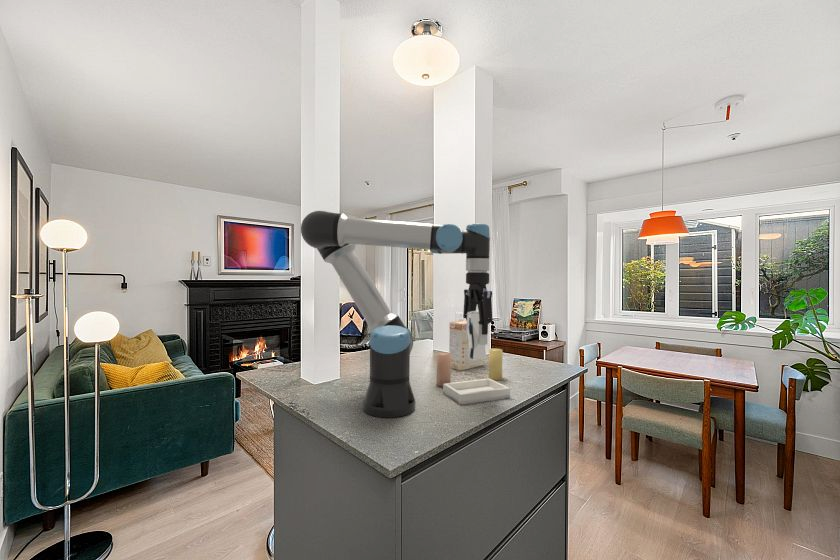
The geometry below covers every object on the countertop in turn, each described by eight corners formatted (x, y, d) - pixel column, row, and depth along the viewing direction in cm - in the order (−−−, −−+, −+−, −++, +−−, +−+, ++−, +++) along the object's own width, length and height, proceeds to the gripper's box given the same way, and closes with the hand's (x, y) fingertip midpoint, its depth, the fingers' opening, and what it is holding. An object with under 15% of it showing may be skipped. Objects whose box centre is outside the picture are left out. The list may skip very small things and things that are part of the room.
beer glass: (481, 361, 116) (482, 313, 116) (462, 357, 121) (462, 311, 120) (491, 357, 122) (492, 311, 122) (472, 354, 126) (473, 310, 126)
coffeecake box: (472, 362, 167) (472, 318, 166) (484, 365, 161) (485, 320, 161) (448, 367, 157) (448, 321, 157) (460, 370, 152) (461, 323, 151)
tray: (460, 404, 113) (460, 394, 113) (443, 392, 124) (443, 383, 124) (509, 397, 119) (510, 388, 119) (489, 386, 131) (489, 378, 131)
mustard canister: (493, 381, 138) (493, 351, 138) (486, 377, 142) (486, 348, 142) (504, 379, 140) (505, 350, 139) (497, 376, 144) (497, 347, 144)
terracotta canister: (439, 387, 129) (440, 355, 129) (434, 383, 134) (434, 352, 134) (452, 386, 131) (453, 354, 131) (446, 382, 136) (447, 352, 136)
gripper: (505, 272, 113) (504, 347, 114) (472, 272, 131) (471, 336, 132) (484, 271, 110) (483, 349, 111) (453, 271, 128) (452, 338, 129)
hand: (476, 342), depth 121 cm, fingers closed on beer glass, 7 cm apart
